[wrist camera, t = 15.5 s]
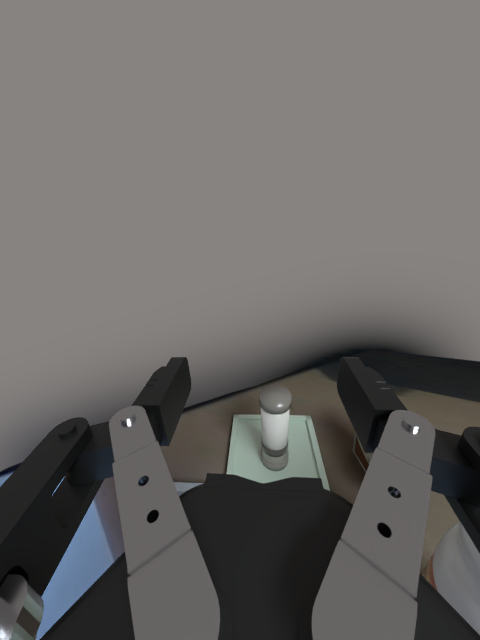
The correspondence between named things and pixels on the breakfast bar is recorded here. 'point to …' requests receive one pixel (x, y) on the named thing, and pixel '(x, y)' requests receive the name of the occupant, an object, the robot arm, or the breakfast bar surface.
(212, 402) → the breakfast bar surface
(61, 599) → the breakfast bar surface
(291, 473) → the tray
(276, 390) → the grey-capped white cylinder
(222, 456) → the breakfast bar surface
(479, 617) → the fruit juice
